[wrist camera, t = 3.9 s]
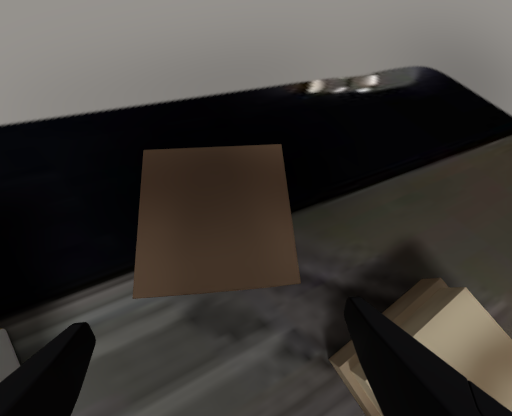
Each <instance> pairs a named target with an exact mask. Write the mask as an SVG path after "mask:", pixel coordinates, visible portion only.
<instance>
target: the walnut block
mask: <svg viewBox="0 0 512 416" xmlns="http://www.w3.org/2000/svg"><path fill="white" fill-rule="evenodd" d="M292 284H301V281H300V274H299V267H298V260H297V253H296V246H295V239H294V231H293V224H292V217H291V210H290V203H289V196H288V189H287V181H286V174H285V167H284V160H283V153H282V146H281V144H274V145H250V146H227V147H204V148H180V149H157V150H143V164H142V178H141V191H140V205H139V218H138V232H137V246H136V259H135V273H134V287H133V299H137V298H150V297H163V296H176V295H190V294H203V293H213V292H224V291H235V290H246V289H257V288H267V287H276V286H284V285H292Z"/></svg>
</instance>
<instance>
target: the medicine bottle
mask: <svg viewBox="0 0 512 416" xmlns="http://www.w3.org/2000/svg"><path fill="white" fill-rule="evenodd" d="M18 367H20V364H19V361H18V359H17V356H16V354H15V351H14V349H13V346H12V344H11V341H10V339H9V336H8V334H7V331H6V330H5V329H1V328H0V382H1V381H2V380H4V379H5V378H6V377H7V376H9V375H10V374H11V373H12V372H14V371H15V370H16V369H17V368H18Z"/></svg>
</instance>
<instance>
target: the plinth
mask: <svg viewBox="0 0 512 416" xmlns="http://www.w3.org/2000/svg"><path fill="white" fill-rule="evenodd" d="M382 314H383V315H385V316H386V317H387V318H389V319H390V320H391V321H392V322H394V323H395V324H396V325H398V326H399V327H400V328H402V329H403V330H404V331H406V332H407V333H408V334H410V335H411V336H412V337H413V338H415V339H416V340H417V341H419V342H420V343H421V344H423V345H424V346H425V347H427V348H428V349H429V350H431V351H432V352H433V353H434V354H436V355H437V356H438V357H440V358H441V359H442V360H444V361H445V362H446V363H448V364H449V365H450V366H452V367H453V368H454V369H455V370H457V371H458V372H459V373H461V374H462V375H463V376H465V377H466V378H467V380H469V381H471V382H473V383H474V384H475V385H477V386H478V387H479V388H481V389H482V390H483V391H484V392H486V393H487V394H488V395H490V396H491V397H493V398H494V399H495V400H497V401H498V402H499V403H501V404H502V405H503V406H505V407H506V408H507V409H509V410H510V411H512V339H511V338H510V337H509V336H508V335H507V334H506V333H505V331H504V330H503V329H502V328H501V327H500V326H499V325H498V324H497V322H496V321H495V320H494V319H493V318H492V317H491V316H490V314H489V313H488V312H487V311H486V310H485V309H484V308H483V306H482V305H481V304H480V303H479V302H478V301H477V300H476V299H475V297H474V296H473V295H472V294H471V293H470V292H469V291H468V289H467V288H466V287H456V288H449V287H448V285H447V284H446V283H445V282H444V281H443V280H442V278H430V279H421V280H420V281H419V282H418V283H416V284H415V285H414V286H413V287H412V288H411V289H410V290H408V291H407V292H406V293H405V294H404V295H403V296H401V297H400V298H399V299H398V300H397V301H396V302H394V303H393V304H392V305H391V306H390V307H389V308H387V309H386V310H385V311H384V312H383V313H382ZM329 361H330V362H331V364H332V365H333V367H334V368H335V370H336V371H337V373H338V374H339V376H340V377H341V379H342V380H343V382H344V383H345V385H346V386H347V388H348V389H349V391H350V392H351V394H352V395H353V397H354V398H355V400H356V401H357V403H358V404H359V406H360V407H361V409H362V410H363V412H364V413H365V415H366V416H383V413H382V411H381V409H380V407H379V405H378V402H377V400H376V398H375V396H374V393H373V391H372V389H371V387H370V385H369V382H368V380H367V378H366V376H365V374H364V371H363V369H362V367H361V364H360V362H359V359H358V356H357V354H356V351H355V348H354V345H353V342H352V340H350V341H349V342H348V343H347V344H346V345H345V346H343V347H342V348H341V349H340V350H339V351H338V352H336V353H335V354H334V355H333V356H332V357H331V358H330V359H329Z"/></svg>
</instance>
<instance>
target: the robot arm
mask: <svg viewBox="0 0 512 416" xmlns="http://www.w3.org/2000/svg"><path fill="white" fill-rule="evenodd" d="M344 318H345V321H346V324H347V327H348V330H349V333H350V336H351V339H352V342H353V345H354V348H355V351H356V354H357V356H358V359H359V362H360V364H361V367H362V369H363V371H364V374H365V376H366V378H367V380H368V382H369V385H370V387H371V389H372V391H373V393H374V396H375V398H376V400H377V402H378V405H379V407H380V409H381V411H382V413H383V416H512V411H510V410H509V409H507V408H506V407H505V406H503V405H502V404H501V403H499V402H498V401H497V400H495V399H494V398H493V397H491V396H490V395H488V394H487V393H486V392H484V391H483V390H482V389H481V388H479V387H478V386H477V385H475V384H474V383H473V382H471V381H469V380H467V378H466V377H465V376H463V375H462V374H461V373H459V372H458V371H457V370H455V369H454V368H453V367H452V366H450V365H449V364H448V363H446V362H445V361H444V360H442V359H441V358H440V357H438V356H437V355H436V354H434V353H433V352H432V351H431V350H429V349H428V348H427V347H425V346H424V345H423V344H421V343H420V342H419V341H417V340H416V339H415V338H413V337H412V336H411V335H410V334H408V333H407V332H406V331H404V330H403V329H402V328H400V327H399V326H398V325H396V324H395V323H394V322H392V321H391V320H390V319H389V318H387V317H386V316H385V315H383V314H382V313H381V312H379V311H378V310H377V309H375V308H374V307H373V306H372V305H370V304H369V303H368V302H366V301H365V300H364V299H362V298H361V297H359V296H352V297H348V298H347V300H346V305H345V309H344ZM95 343H96V339H95V336H94V334H93V332H92V330H91V328H90V326H89V324H88V323H86V322H82V323H74V324H72V325H70V326H69V327H68V328H67V329H65V330H64V331H63V332H62V333H60V334H59V335H58V336H57V337H55V338H54V339H53V340H52V341H51V342H49V343H48V344H47V345H46V346H44V347H43V348H42V349H41V350H39V351H38V352H37V353H36V354H34V355H33V356H32V357H31V358H30V359H28V360H27V361H26V362H25V363H23V364H22V365H21V366H20V367H18V368H17V369H16V370H15V371H14V372H12V373H11V374H10V375H9V376H7V377H6V378H5V379H4V380H2V381H1V382H0V416H71V413H72V411H73V408H74V406H75V404H76V401H77V399H78V396H79V393H80V390H81V388H82V384H83V381H84V378H85V375H86V372H87V369H88V366H89V363H90V360H91V356H92V353H93V350H94V347H95Z"/></svg>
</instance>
